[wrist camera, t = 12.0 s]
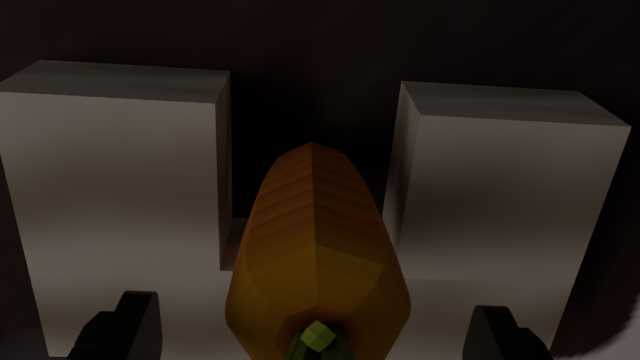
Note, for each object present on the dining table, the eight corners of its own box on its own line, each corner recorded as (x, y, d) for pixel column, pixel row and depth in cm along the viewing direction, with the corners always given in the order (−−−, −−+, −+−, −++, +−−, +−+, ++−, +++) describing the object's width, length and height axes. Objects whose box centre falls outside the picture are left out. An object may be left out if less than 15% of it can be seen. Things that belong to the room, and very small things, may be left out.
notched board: (40, 59, 21) (-15, 91, 17) (578, 91, 22) (631, 126, 18) (84, 295, 26) (49, 356, 23) (510, 311, 27) (541, 371, 24)
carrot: (314, 221, 24) (330, 591, 11) (231, 156, 23) (130, 497, 9) (391, 149, 23) (519, 476, 9) (307, 74, 21) (318, 339, 8)
